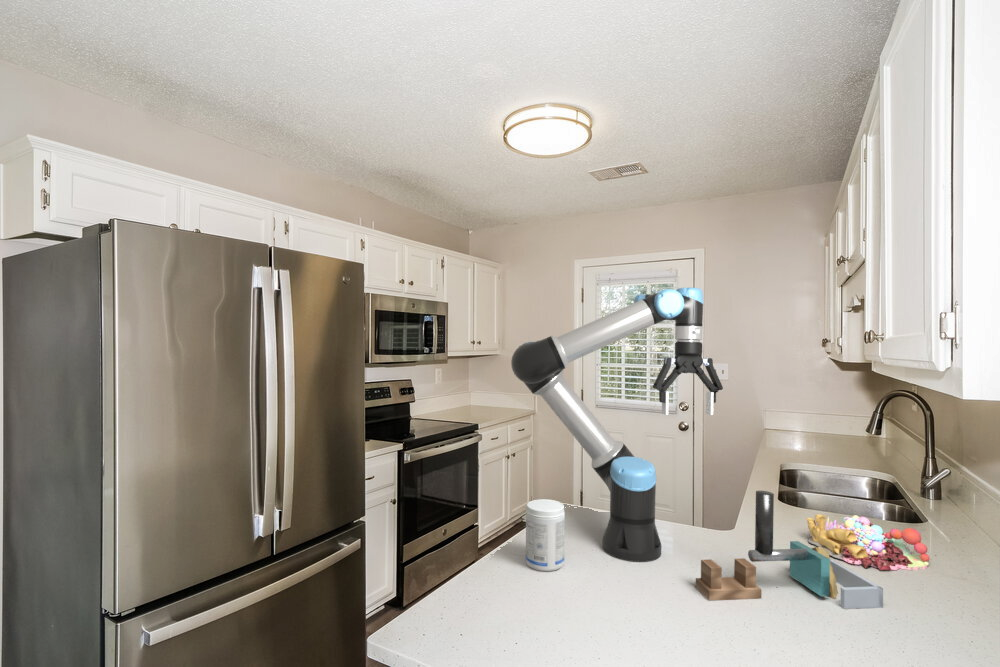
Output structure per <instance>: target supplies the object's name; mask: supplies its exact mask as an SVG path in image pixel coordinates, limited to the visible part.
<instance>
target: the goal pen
mask: <svg viewBox="0 0 1000 667" xmlns="http://www.w3.org/2000/svg"><path fill="white" fill-rule="evenodd" d="M830 563H831V566H832V568H833V573H834V575H835V578H836V583H838V584H839V585H841V586H842V587H840V604H839V606H840V608H842V609H844V610H852V609H853V610H854V609H856V610H857V609H873V608H874V609H878V608H879V609H880V608H884V588H883V587H881V586H879V585H878V584H876V583H874V582H873V581H871V580H869V579H868V578H865V577H864V576H862V575H860V574H858V573H857V572H855V571H853V570H851V569H849V568H847V567H846V566H844V565H842V564H840V563H839V562H837V561H836V560H833V559H832V558H830Z"/></svg>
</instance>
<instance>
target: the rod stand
mask: <svg viewBox="0 0 1000 667" xmlns="http://www.w3.org/2000/svg"><path fill="white" fill-rule="evenodd" d="M733 562H734V565H733V569H734V570H733V572H734V574H733V576H725V577H724V576H723V577H722V575H723V573H722V572H723V571H722V570H723V569H722V568H723V567H721V566H720V565H719V564H717V563H716V562H715V561H714V560H712V558H711V559H701V560H700V577H696V578H695V588H696V589H697V590H698V591H699V592H700V593H701V594H702V595H703V596H704V597H705V598H706V599H707V600H708V601H726V600H727V601H729V600H730V601H731V600H735V601H736V600H754V599H755V600H757V599H762V588H761V587H759V586H758V585H757V566H756V565H754V564H752V563H751V562H750V561H749V560H747V559H746V558H744V557H743V558H734V561H733Z"/></svg>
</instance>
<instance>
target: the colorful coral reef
mask: <svg viewBox="0 0 1000 667" xmlns="http://www.w3.org/2000/svg"><path fill="white" fill-rule="evenodd" d="M806 521H807V528H808V530H809V533H810V535H811V536H812V537H810V538H809V539H807V542H808V543H810V544H812V545H814V546H816V547H822V548H823V549H825V550H827V551H828V552H829V556H832V557H833V558H836V559H839V560H843V561H844V562H846V563H848V564H852V565H862V566H863V567H864V568H865V569H867V568H870V567H873V568H877V569H878V570H879V571H892V570H893V571H898V570H899V569H902V570H907V571H919V570H926V569H927V568H928V567H929V565H930V564H929V562H930V560H931V558H930V555H928V554H927V553H928V547H927V545H926V544H925V543H923V542H921V541H922V535H921V533H920V532H919V531H918V530H917V529H915V528H909V527H907V528H904V529H903V530H902V531H901V530H899V529H898V528H892V529H891V530H889V532H884V531H883V528H882V527H881V526H879V525H876V524H873V523H871V521H870V519H868V518H867V517H865V516H858V515H857V514H856V515H852V517H849V516H845V517H843V518H842V521H843V522H842V523H841V524H840V523H837V522H838V521H837V519H835V520H834V522H833V521H830V517H829V516H827V519H826V515H822V514H819V513H818V514H817V513H816V514H815V516H814V519H813V518H811V517H807V518H806ZM901 539H902V540H903V541H902V540H901ZM907 544H908V545H912V546H913V549H914V551H915V553H914V552H912V551H911V550H910V547H909V546H908V545H907ZM916 553H917V554H919V555H917V554H916Z"/></svg>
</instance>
